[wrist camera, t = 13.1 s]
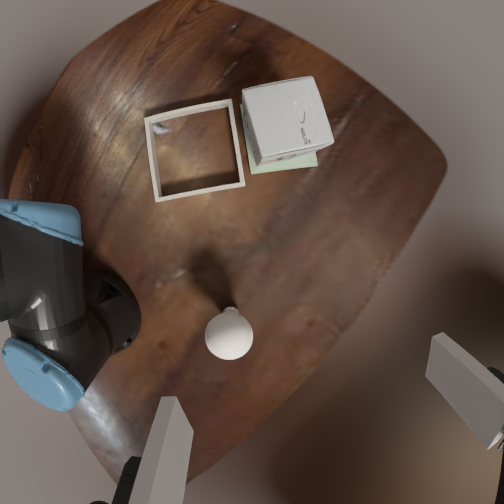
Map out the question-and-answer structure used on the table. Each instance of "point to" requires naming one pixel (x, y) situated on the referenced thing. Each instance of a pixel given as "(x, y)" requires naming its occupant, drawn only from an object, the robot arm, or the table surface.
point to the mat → (283, 165)
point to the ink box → (285, 120)
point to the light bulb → (229, 334)
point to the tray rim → (178, 113)
